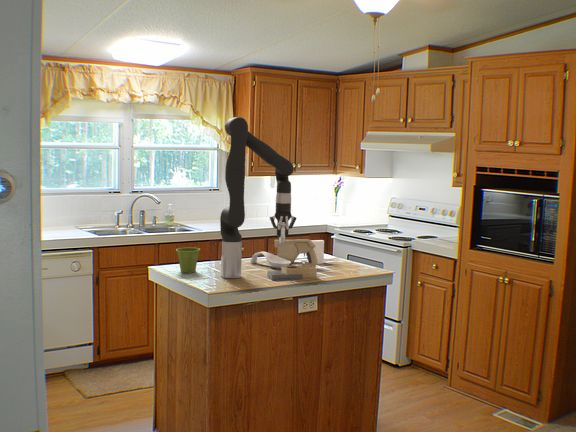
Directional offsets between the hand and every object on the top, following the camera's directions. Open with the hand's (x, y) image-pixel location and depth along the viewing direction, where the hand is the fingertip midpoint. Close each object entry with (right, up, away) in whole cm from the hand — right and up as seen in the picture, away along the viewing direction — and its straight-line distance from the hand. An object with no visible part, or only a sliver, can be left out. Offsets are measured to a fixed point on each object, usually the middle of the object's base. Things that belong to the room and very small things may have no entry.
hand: (282, 236), depth 294 cm
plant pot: (-47, -17, 0) cm, 50 cm away
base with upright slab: (+18, -15, +33) cm, 41 cm away
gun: (+6, -16, +22) cm, 28 cm away
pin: (0, -3, 0) cm, 3 cm away
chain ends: (+5, -19, -8) cm, 21 cm away
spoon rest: (-7, -17, +20) cm, 26 cm away
